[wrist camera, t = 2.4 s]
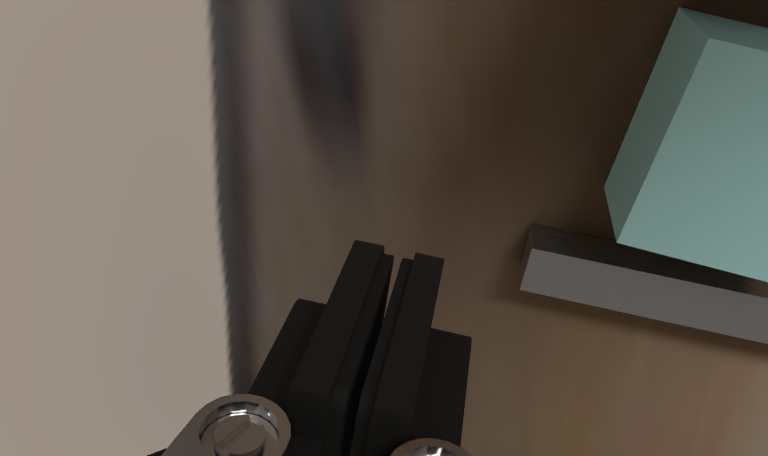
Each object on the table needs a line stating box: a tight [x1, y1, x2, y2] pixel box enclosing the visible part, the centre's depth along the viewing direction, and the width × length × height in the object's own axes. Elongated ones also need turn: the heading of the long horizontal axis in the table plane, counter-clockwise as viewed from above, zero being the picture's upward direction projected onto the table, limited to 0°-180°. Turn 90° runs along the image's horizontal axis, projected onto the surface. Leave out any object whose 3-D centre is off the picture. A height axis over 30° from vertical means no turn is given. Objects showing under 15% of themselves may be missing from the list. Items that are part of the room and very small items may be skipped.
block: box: [604, 7, 768, 282], centre depth 22 cm, size 7×7×4 cm
